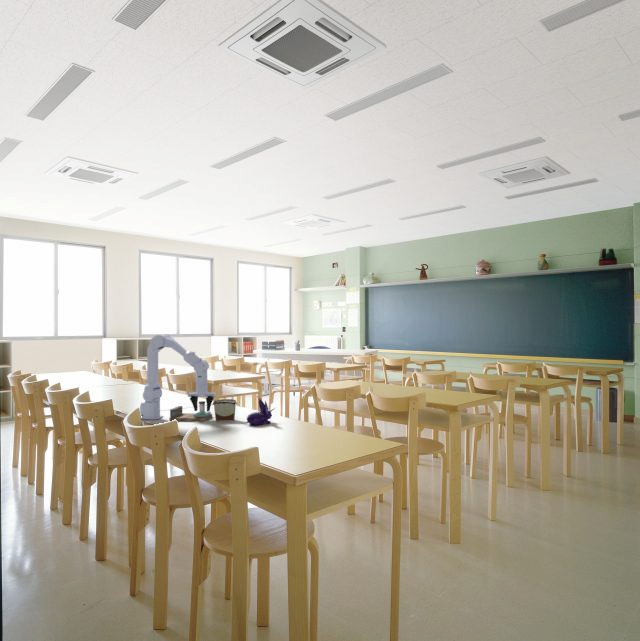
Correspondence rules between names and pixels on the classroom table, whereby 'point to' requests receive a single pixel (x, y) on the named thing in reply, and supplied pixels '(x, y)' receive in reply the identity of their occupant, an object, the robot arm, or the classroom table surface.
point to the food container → (225, 409)
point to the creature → (260, 415)
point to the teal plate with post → (202, 410)
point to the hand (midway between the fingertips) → (202, 410)
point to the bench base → (185, 415)
